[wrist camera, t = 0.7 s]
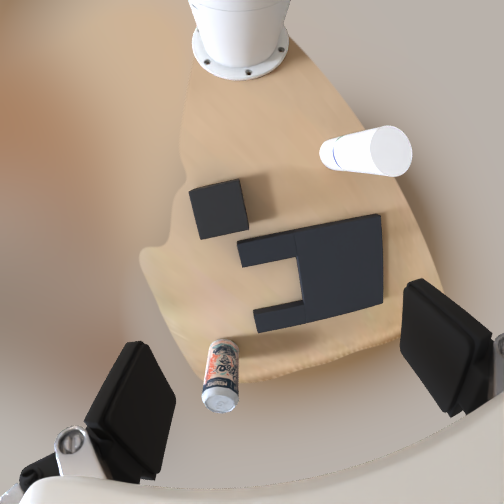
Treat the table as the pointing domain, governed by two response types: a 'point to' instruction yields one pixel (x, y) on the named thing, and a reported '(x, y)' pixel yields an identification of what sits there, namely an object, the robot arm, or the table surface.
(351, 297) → the dark blue flat slab
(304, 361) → the table surface
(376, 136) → the tube
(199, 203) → the black block
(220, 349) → the beer can
